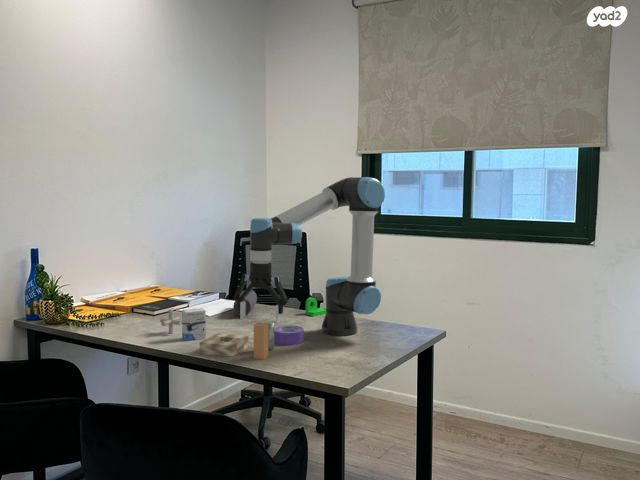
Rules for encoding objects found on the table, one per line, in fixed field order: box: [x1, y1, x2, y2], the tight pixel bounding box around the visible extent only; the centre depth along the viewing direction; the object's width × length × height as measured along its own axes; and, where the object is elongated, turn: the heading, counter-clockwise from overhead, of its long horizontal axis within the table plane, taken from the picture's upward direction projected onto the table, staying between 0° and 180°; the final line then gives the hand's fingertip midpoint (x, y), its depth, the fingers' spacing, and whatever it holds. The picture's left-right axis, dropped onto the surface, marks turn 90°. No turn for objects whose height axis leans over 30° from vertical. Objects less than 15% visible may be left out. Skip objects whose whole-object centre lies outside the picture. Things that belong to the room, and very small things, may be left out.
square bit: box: [253, 322, 269, 360], centre depth 207 cm, size 4×4×12 cm
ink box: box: [181, 307, 207, 342], centre depth 231 cm, size 8×5×12 cm, turn 117°
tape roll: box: [274, 324, 305, 346], centre depth 229 cm, size 12×12×5 cm
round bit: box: [264, 321, 276, 352], centre depth 217 cm, size 4×4×10 cm
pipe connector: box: [159, 308, 182, 335], centre depth 238 cm, size 10×10×10 cm
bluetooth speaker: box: [232, 289, 258, 316], centre depth 277 cm, size 23×9×10 cm, turn 179°
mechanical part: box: [304, 297, 326, 317], centre depth 277 cm, size 12×6×8 cm, turn 130°
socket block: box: [199, 332, 249, 357], centre depth 216 cm, size 13×14×4 cm
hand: (260, 321), depth 206 cm, fingers open, 13 cm apart
